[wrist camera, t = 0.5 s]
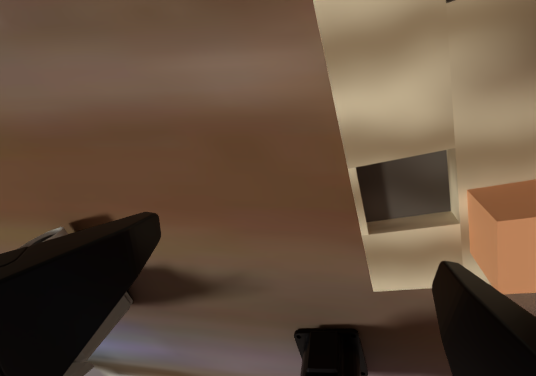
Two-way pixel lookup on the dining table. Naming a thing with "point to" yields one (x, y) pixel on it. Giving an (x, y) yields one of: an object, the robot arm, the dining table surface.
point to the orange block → (505, 234)
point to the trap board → (429, 120)
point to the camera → (79, 365)
